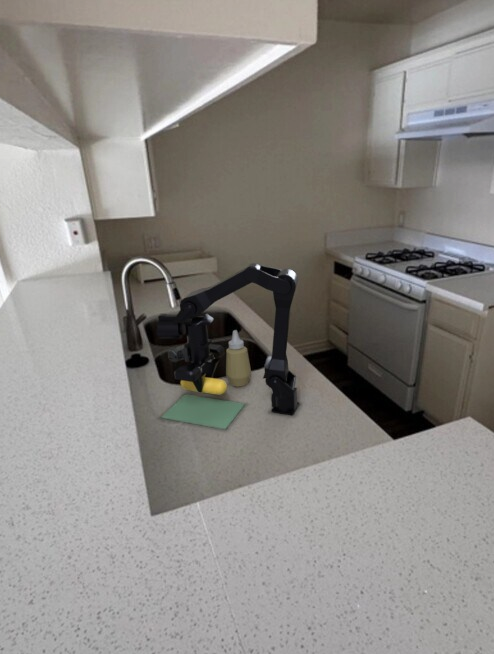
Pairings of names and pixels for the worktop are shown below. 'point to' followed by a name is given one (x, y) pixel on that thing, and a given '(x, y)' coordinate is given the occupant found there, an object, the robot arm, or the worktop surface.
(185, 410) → the towel
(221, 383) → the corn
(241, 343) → the squeeze bottle
